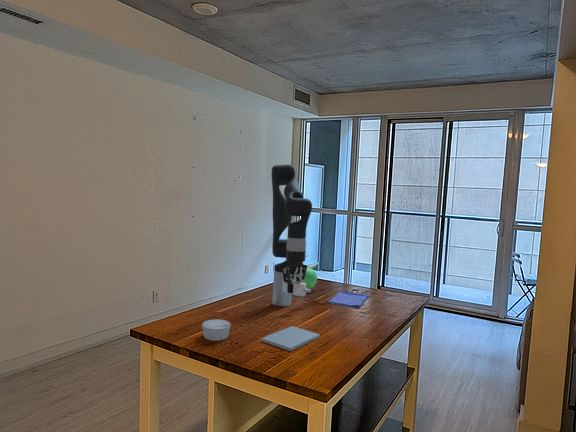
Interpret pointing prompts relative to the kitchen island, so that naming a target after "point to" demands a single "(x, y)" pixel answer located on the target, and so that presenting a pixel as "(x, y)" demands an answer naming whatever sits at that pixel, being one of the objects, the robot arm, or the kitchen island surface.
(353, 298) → the dish towel
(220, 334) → the ramekin
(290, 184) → the robot arm
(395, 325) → the kitchen island surface
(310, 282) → the green apple
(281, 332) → the cutting board
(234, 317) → the kitchen island surface
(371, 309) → the kitchen island surface
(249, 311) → the kitchen island surface
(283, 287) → the rounded plug
